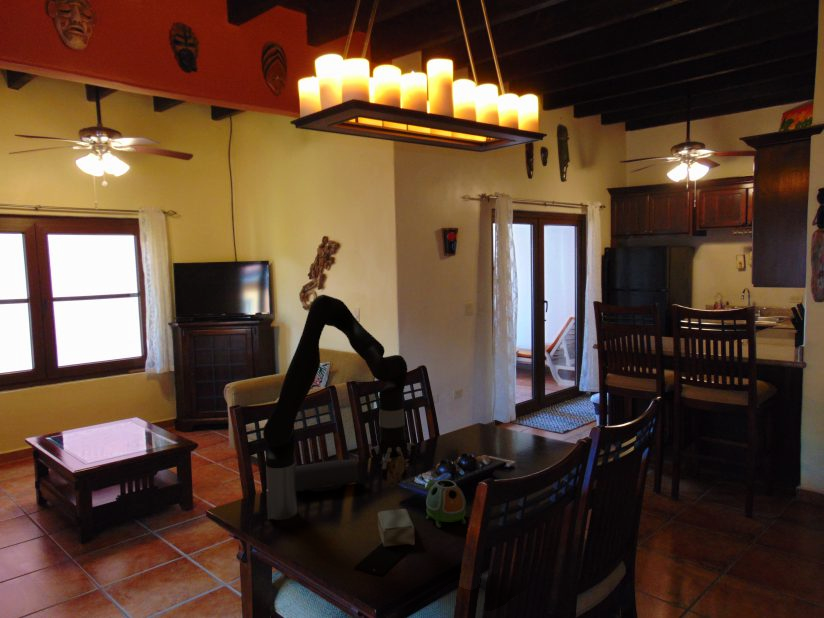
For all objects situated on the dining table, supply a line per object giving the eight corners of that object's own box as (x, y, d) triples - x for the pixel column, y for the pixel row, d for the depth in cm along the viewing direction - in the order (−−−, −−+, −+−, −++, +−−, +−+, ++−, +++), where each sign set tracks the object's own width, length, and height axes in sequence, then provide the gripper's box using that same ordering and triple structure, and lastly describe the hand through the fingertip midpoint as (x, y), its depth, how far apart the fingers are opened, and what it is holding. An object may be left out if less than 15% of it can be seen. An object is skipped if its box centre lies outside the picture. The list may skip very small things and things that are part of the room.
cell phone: (413, 547, 168) (413, 544, 168) (381, 578, 152) (381, 574, 152) (386, 541, 172) (386, 538, 172) (353, 570, 157) (353, 567, 156)
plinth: (383, 548, 168) (383, 529, 167) (378, 528, 180) (377, 510, 180) (414, 544, 169) (414, 526, 169) (406, 525, 182) (406, 507, 182)
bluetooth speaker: (353, 480, 221) (353, 454, 221) (359, 489, 213) (358, 462, 212) (293, 488, 215) (292, 462, 214) (296, 498, 206) (295, 470, 205)
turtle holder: (446, 503, 198) (445, 468, 197) (473, 524, 182) (473, 486, 181) (413, 510, 193) (412, 475, 192) (438, 532, 177) (437, 494, 176)
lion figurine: (412, 486, 170) (410, 456, 169) (396, 490, 167) (394, 460, 166) (388, 471, 182) (387, 443, 181) (373, 475, 180) (371, 447, 179)
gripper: (369, 428, 167) (371, 486, 169) (418, 424, 170) (420, 481, 171) (366, 421, 175) (368, 477, 176) (413, 417, 177) (415, 472, 178)
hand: (394, 479), depth 173 cm, fingers closed on lion figurine, 4 cm apart
